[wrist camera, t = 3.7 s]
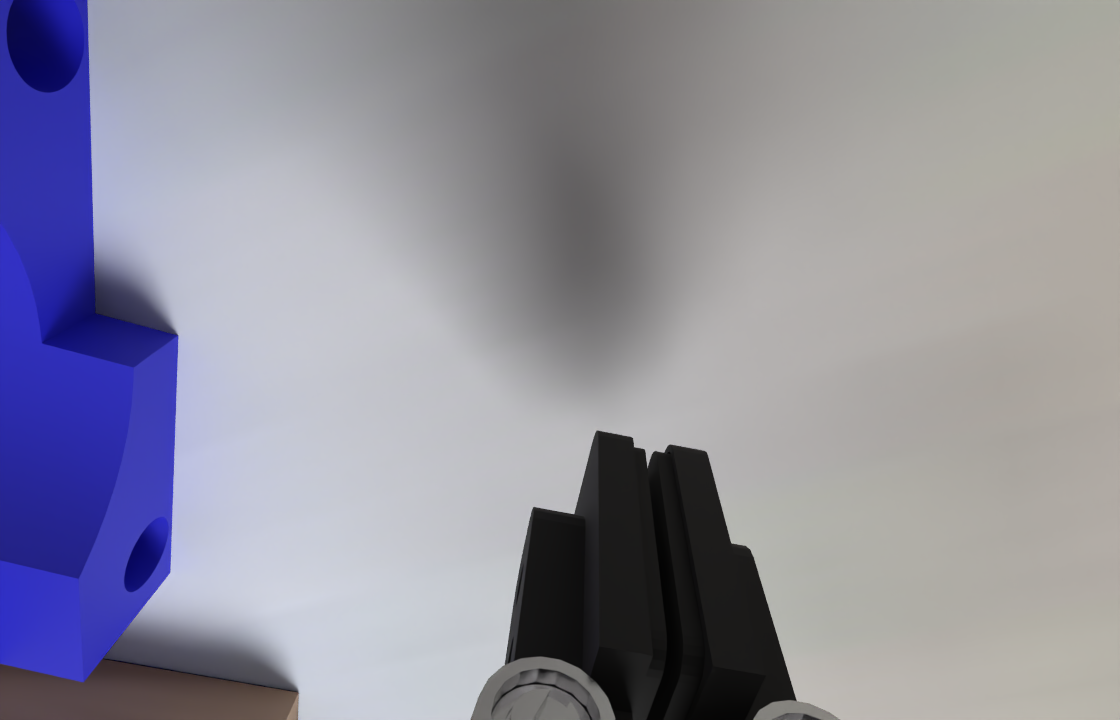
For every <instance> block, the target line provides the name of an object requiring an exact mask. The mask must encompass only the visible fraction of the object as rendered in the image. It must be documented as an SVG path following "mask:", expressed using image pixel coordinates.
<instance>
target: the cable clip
mask: <svg viewBox="0 0 1120 720" xmlns="http://www.w3.org/2000/svg"><path fill="white" fill-rule="evenodd" d="M177 357H178V335H175V334H171V333H167V332H164V331H160V330H156V329H152V328H149V327H145V326H141V325H137V324H134V323H130V322H126V321H122V320H119V319H115V318H111V317H107V316H104V315H100V314H96V313H95V279H94V241H93V202H92V163H91V124H90V85H89V47H88V8H87V0H0V664H4V665H9V666H13V667H17V668H22V669H26V670H31V671H35V672H40V673H44V674H48V675H53V676H57V677H62V678H66V679H71V680H75V681H79V682H84V681H85V680H86V679H87V678H88V676H89V675H90V674H91V672H92V671H93V670H94V669H95V667H96V666H97V665H98V664H99V662H100V661H101V660H102V659H103V657H104V656H105V655H106V653H107V652H108V651H109V650H110V648H111V647H112V646H113V645H114V643H115V642H116V641H117V639H118V638H119V637H120V636H121V634H122V633H123V632H124V631H125V629H126V628H127V627H128V626H129V624H130V623H131V622H132V620H133V619H134V618H135V617H136V615H137V614H138V613H139V612H140V610H141V609H142V608H143V607H144V605H145V604H146V603H147V601H148V600H149V599H150V598H151V596H152V595H153V594H154V593H155V591H156V590H157V589H158V587H159V586H160V585H161V584H162V582H163V581H164V580H165V579H166V577H167V576H168V575H169V574H170V564H171V535H172V505H173V475H174V446H175V416H176V387H177Z"/></svg>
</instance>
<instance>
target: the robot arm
mask: <svg viewBox="0 0 1120 720" xmlns="http://www.w3.org/2000/svg"><path fill="white" fill-rule="evenodd" d="M471 720H840V719H838V718H837V717H835V716H834V715H832V714H831V713H830V712H827V711H825V710H823V709H820V708H818V707H816V706H814V705H811V704H809V703H803V702H798V701H796V697H795V694H794V691H793V687H792V684H791V681H790V677H789V674H788V671H787V667H786V664H785V661H784V657H783V654H782V651H781V647H780V644H779V641H778V637H777V634H776V631H775V627H774V624H773V621H772V617H771V614H770V611H769V607H768V604H767V601H766V597H765V594H764V591H763V587H762V584H761V581H760V577H759V574H758V571H757V567H756V564H755V561H754V557H753V555H752V553H751V551H750V549H749V548H747V547H746V546H742V545H737V544H731V541H730V537H729V534H728V530H727V526H726V522H725V519H724V515H723V511H722V507H721V503H720V500H719V496H718V492H717V488H716V484H715V481H714V477H713V473H712V469H711V466H710V462H709V458H708V455H707V453H706V452H705V451H702V450H697V449H691V448H686V447H681V446H676V445H669V446H668V447H667V448H666V450H665V453H662V452H657V451H654V452H653V454H652V456H651V459H650V462H649V465H648V469H647V462H646V453H645V450H644V449H641V448H635V447H634V442H633V438H632V437H628V436H623V435H618V434H612V433H607V432H602V431H596V433H595V436H594V439H593V443H592V446H591V450H590V454H589V458H588V462H587V466H586V470H585V474H584V478H583V482H582V486H581V490H580V494H579V498H578V502H577V506H576V510H575V514H569V513H563V512H558V511H552V510H547V509H541V508H536V507H533V509H532V513H531V517H530V521H529V526H528V530H527V535H526V540H525V544H524V549H523V554H522V559H521V564H520V569H519V575H518V580H517V586H516V592H515V599H514V605H513V612H512V619H511V626H510V633H509V640H508V647H507V654H506V660H505V665H504V666H502V667H501V668H500V669H499V670H498V671H497V672H496V673H494V674H493V675H492V676H491V677H490V678H489V679H488V681H487V682H486V684H485V686H484V688H483V689H482V691H481V693H480V695H479V697H478V700H477V703H476V706H475V709H474V711H473V714H472V717H471Z"/></svg>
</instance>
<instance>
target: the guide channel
mask: <svg viewBox="0 0 1120 720" xmlns="http://www.w3.org/2000/svg"><path fill="white" fill-rule="evenodd" d="M0 720H298V693H297V692H291V691H285V690H280V689H274V688H268V687H262V686H256V685H250V684H245V683H239V682H233V681H227V680H221V679H215V678H210V677H204V676H198V675H192V674H186V673H180V672H175V671H169V670H163V669H157V668H151V667H146V666H140V665H134V664H128V663H122V662H116V661H111V660H105V659H102V660H101V661H100V662H99V664H98V665H97V666H96V667H95V669H94V670H93V671H92V672H91V674H90V675H89V676H88V678H87V679H86V680H85V681H84V682H79V681H75V680H71V679H66V678H62V677H57V676H53V675H48V674H44V673H40V672H35V671H31V670H26V669H22V668H17V667H13V666H9V665H4V664H0Z"/></svg>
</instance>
